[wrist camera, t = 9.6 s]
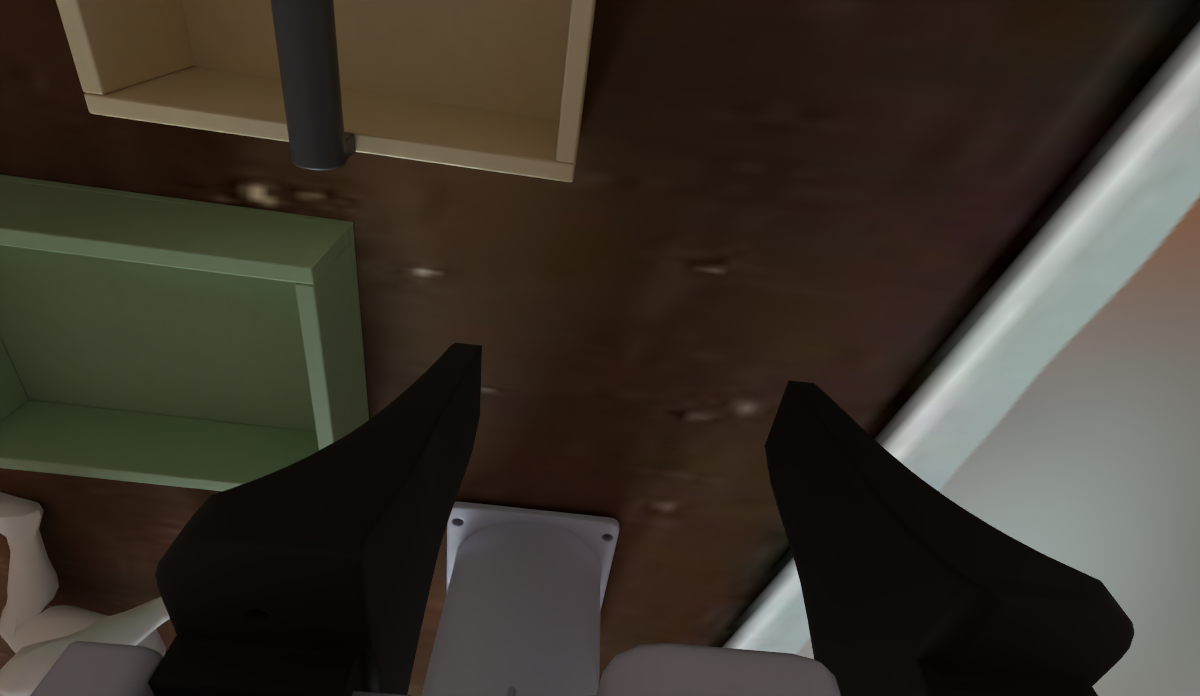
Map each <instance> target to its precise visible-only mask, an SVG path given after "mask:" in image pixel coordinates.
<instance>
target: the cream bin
mask: <svg viewBox="0 0 1200 696" xmlns="http://www.w3.org/2000/svg"><path fill="white" fill-rule="evenodd" d="M56 2H57V6H58V9H59V12H60V16H61V19H62V22H63V26H64V29H65V33H66V36H67V39H68V43H69V46H70V49H71V53H72V56H73V59H74V63H75V66H76V70H77V73H78V76H79V80H80V83H81V86H82V90H83V91H84V92H86V93H85V94H84V96H85V100H86V103H87V107H88V110H89V112H90V113H91V114H97V115H104V116H111V117H118V118H125V119H132V120H139V121H146V122H153V123H160V124H167V125H174V126H181V127H188V128H195V129H202V130H209V131H216V132H223V133H230V134H237V135H244V136H251V137H258V138H265V139H272V140H279V141H286V142H289V145H290V153H291V160H292V162H293V163H294V164H295V165H296V166H298V167H301V168H305V169H310V170H332V169H337V168H340V167H343V166H344V165H345V164H346V161H347V159H348V158H349V157H350V156H351V155H353V154H354V153H355V151H356V152H363V153H370V154H377V155H384V156H391V157H398V158H405V159H412V160H419V161H426V162H433V163H440V164H447V165H454V166H461V167H468V168H474V169H481V170H488V171H495V172H502V173H509V174H516V175H523V176H530V177H537V178H544V179H551V180H558V181H565V182H572V181H573V176H574V170H575V163H576V156H577V150H578V143H579V137H580V128H581V120H582V112H583V104H584V95H585V87H586V79H587V71H588V63H589V54H590V46H591V38H592V30H593V21H594V13H595V5H596V0H56Z"/></svg>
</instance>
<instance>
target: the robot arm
mask: <svg viewBox="0 0 1200 696" xmlns="http://www.w3.org/2000/svg"><path fill="white" fill-rule="evenodd" d="M481 357H482V346H479V345H471V344H462V343H454V344H453V345H451V346H450V347H449V348H448V349H447V350H446V351H445V353H444V354H443V355H442V356H441V357H440V358H439V359H438V360H437V361H436V362H435V363H434V364H433V365H432V366H431V367H430V368H429V369H428V370H427V371H426V372H425V373H424V374H423V375H422V376H421V377H420V378H419V379H418V380H417V381H415V382H414V383H413V384H412V385H411V386H410V387H409V388H408V389H407V390H406V391H405V392H403V393H402V394H401V395H400V396H399V397H397V398H396V399H395V400H394V401H393V402H391V403H390V404H389V405H388V406H386V407H385V408H384V409H383V410H382V411H380V412H379V413H378V414H376V415H375V416H374V417H372V418H371V419H370V420H368V421H367V422H365V423H364V424H363V425H361V426H360V427H358V428H357V429H355V430H354V431H352V432H351V433H349V434H348V435H346V436H344V437H343V438H341V439H339V440H337V441H335V442H334V443H332V444H330V445H328V446H326V447H325V448H323V449H321V450H319V451H317V452H316V453H314V454H312V455H310V456H308V457H306V458H304V459H302V460H300V461H298V462H295V463H293V464H291V465H289V466H287V467H285V468H282V469H280V470H278V471H275V472H273V473H271V474H268V475H266V476H263V477H261V478H258V479H256V480H253V481H250V482H247V483H245V484H242V485H239V486H236V487H233V488H231V489H228V490H225V491H222V492H219V493H216V494H213V495H210V497H209V498H208V499H207V500H206V501H205V502H204V504H203V505H202V506H201V507H200V508H199V509H198V510H197V511H196V513H195V514H194V515H193V516H192V517H191V519H190V520H189V521H188V523H187V524H186V525H185V527H184V528H183V529H182V531H181V532H180V534H179V535H178V536H177V538H176V539H175V541H174V542H173V543H172V545H171V546H170V548H169V549H168V550H167V552H166V553H165V554H164V556H163V557H162V559H161V560H160V561H159V563H158V567H157V570H156V574H155V578H156V583H157V588H158V591H159V593H160V595H161V598H162V600H163V603H164V605H165V607H166V610H167V612H168V615H169V617H170V619H171V622H172V624H173V627H174V629H175V631H176V634H177V636H176V638H175V639H174V641H173V643H172V644H171V646H170V647H169V649H168V651H167V652H166V654H165V655H164V657H163V656H162V655H161V654H160V653H159V652H157V651H155V650H153V649H151V648H147V647H142V646H135V645H123V644H110V643H98V642H86V641H76V642H72V643H70V644H69V645H68V646H67V648H66V649H65V650H64V652H63V653H62V654H61V656H60V657H59V658H58V659H57V661H56V662H55V663H54V665H53V666H52V667H51V669H50V670H49V671H48V673H47V674H46V675H45V676H44V678H43V679H42V680H41V682H40V683H39V684H38V686H37V687H36V688H35V690H34V691H33V692H32V693H31V695H30V696H410V695H407V693H408V688H409V683H410V678H411V673H412V668H413V664H414V659H415V654H416V649H417V645H418V640H419V635H420V631H421V626H422V622H423V617H424V613H425V608H426V604H427V599H428V595H429V590H430V586H431V582H432V577H433V573H434V569H435V565H436V560H437V556H438V552H439V548H440V545H441V541H442V538H443V535H444V531H445V528H446V525H447V595H446V599H445V603H444V607H443V611H442V615H441V619H440V623H439V627H438V631H437V635H436V639H435V643H434V647H433V651H432V655H431V659H430V663H429V667H428V671H427V675H426V680H425V684H424V688H423V692H422V696H1098V695H1097V694H1096V692H1095V690H1094V689H1093V688H1092V686H1093V685H1094V684H1095V683H1096V682H1097V681H1098V680H1099V679H1100V678H1101V677H1102V676H1103V675H1104V674H1106V673H1107V672H1108V671H1109V670H1110V669H1111V668H1112V667H1113V666H1114V665H1115V664H1116V663H1117V662H1118V661H1119V660H1120V659H1121V658H1122V657H1123V655H1124V654H1125V653H1126V652H1127V650H1128V649H1129V648H1130V645H1131V642H1132V639H1133V636H1134V629H1133V624H1132V622H1131V620H1130V619H1129V618H1128V616H1127V615H1126V614H1125V612H1124V611H1123V610H1122V608H1121V607H1120V606H1119V604H1118V603H1117V602H1116V600H1115V599H1114V598H1113V597H1112V595H1111V594H1110V592H1109V591H1108V590H1107V588H1106V587H1105V586H1104V585H1103V583H1102V582H1101V581H1100V580H1098V579H1095V578H1093V577H1091V576H1089V575H1087V574H1085V573H1082V572H1080V571H1078V570H1076V569H1074V568H1072V567H1069V566H1067V565H1065V564H1063V563H1061V562H1059V561H1056V560H1054V559H1052V558H1050V557H1048V556H1046V555H1044V554H1042V553H1040V552H1038V551H1036V550H1034V549H1032V548H1030V547H1028V546H1027V545H1024V544H1023V543H1021V542H1019V541H1017V540H1015V539H1013V538H1012V537H1010V536H1008V535H1006V534H1004V533H1002V532H1001V531H999V530H997V529H996V528H994V527H992V526H990V525H989V524H987V523H986V522H984V521H982V520H981V519H979V518H978V517H976V516H974V515H973V514H971V513H969V512H968V511H966V510H965V509H963V508H962V507H960V506H958V505H957V504H956V503H954V502H952V501H951V500H950V499H948V498H947V497H945V496H944V495H942V494H941V493H940V492H938V491H937V490H936V489H934V488H933V487H931V486H930V485H929V484H927V483H926V482H925V481H923V480H922V479H920V478H919V477H918V476H917V475H915V474H914V473H913V472H911V471H910V470H909V469H908V468H907V467H905V466H904V465H903V464H902V463H901V462H899V461H898V460H897V459H896V458H895V457H893V456H892V455H891V454H890V453H889V452H888V451H886V450H885V449H884V448H883V447H882V446H881V445H880V444H879V443H877V442H876V441H875V440H874V439H873V438H872V437H871V436H870V435H869V434H868V433H867V432H866V431H864V430H863V429H862V428H861V427H860V426H859V425H858V424H857V423H856V422H855V421H854V420H853V419H852V418H851V417H850V416H849V415H848V414H847V413H846V412H845V411H843V410H842V409H841V408H840V407H839V406H838V405H837V404H836V403H835V402H834V401H833V400H832V399H831V398H830V397H829V396H828V395H827V394H826V393H825V392H823V391H822V390H821V389H820V388H819V387H818V386H817V385H815V384H814V383H806V382H798V381H788V384H787V387H786V389H785V392H784V395H783V397H782V400H781V403H780V406H779V408H778V411H777V414H776V417H775V419H774V422H773V425H772V428H771V430H770V433H769V436H768V439H767V441H766V444H765V449H766V456H767V464H768V470H769V476H770V482H771V486H772V489H773V493H774V496H775V499H776V503H777V506H778V509H779V512H780V516H781V519H782V522H783V525H784V528H785V532H786V535H787V538H788V541H789V544H790V548H791V551H792V554H793V557H794V560H795V564H796V567H797V571H798V575H799V579H800V582H801V587H802V593H803V598H804V603H805V608H806V613H807V619H808V624H809V630H810V636H811V642H812V648H813V654H814V659H810V658H806V657H802V656H799V655H795V654H788V653H777V652H765V651H753V650H742V649H730V648H719V647H707V646H696V645H684V644H673V643H661V644H645V645H639V646H636V647H634V648H632V649H629V650H627V651H624V652H622V653H620V654H618V655H617V656H615V657H614V658H613V659H612V661H611V662H610V663H609V665H608V666H607V667H606V669H605V670H604V671H603V673H602V677H601V681H600V685H599V661H600V611H601V607H602V602H603V598H604V594H605V590H606V585H607V581H608V577H609V573H610V568H611V564H612V560H613V555H614V551H615V547H616V543H617V538H618V534H619V522H618V521H617V520H616V519H614V518H610V517H601V516H591V515H582V514H572V513H563V512H554V511H544V510H535V509H526V508H516V507H507V506H497V505H488V504H479V503H469V502H455V500H456V497H457V494H458V491H459V488H460V486H461V483H462V480H463V477H464V474H465V471H466V468H467V465H468V462H469V459H470V457H471V454H472V450H473V445H474V441H475V436H476V431H477V426H478V421H479V417H480V391H481ZM456 518H459V519H456ZM606 534H609V535H606Z"/></svg>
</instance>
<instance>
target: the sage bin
mask: <svg viewBox="0 0 1200 696" xmlns="http://www.w3.org/2000/svg"><path fill="white" fill-rule="evenodd" d="M368 420H369V411H368V399H367V387H366V375H365V363H364V351H363V339H362V327H361V315H360V303H359V291H358V279H357V267H356V255H355V243H354V231H353V222H351V221H344V220H336V219H329V218H321V217H314V216H306V215H299V214H291V213H284V212H277V211H269V210H262V209H254V208H247V207H239V206H232V205H224V204H217V203H210V202H202V201H195V200H187V199H180V198H172V197H165V196H157V195H150V194H142V193H135V192H128V191H120V190H113V189H105V188H98V187H90V186H83V185H75V184H68V183H60V182H53V181H46V180H38V179H31V178H23V177H16V176H8V175H1V174H0V468H6V469H16V470H25V471H35V472H44V473H54V474H63V475H73V476H83V477H92V478H102V479H111V480H121V481H130V482H140V483H149V484H159V485H168V486H178V487H187V488H197V489H206V490H216V491H225V490H228V489H231V488H233V487H236V486H239V485H242V484H245V483H247V482H250V481H253V480H256V479H258V478H261V477H263V476H266V475H268V474H271V473H273V472H275V471H278V470H280V469H282V468H285V467H287V466H289V465H291V464H293V463H295V462H298V461H300V460H302V459H304V458H306V457H308V456H310V455H312V454H314V453H316V452H317V451H319V450H321V449H323V448H325V447H326V446H328V445H330V444H332V443H334V442H335V441H337V440H339V439H341V438H343V437H344V436H346V435H348V434H349V433H351V432H352V431H354V430H355V429H357V428H358V427H360V426H361V425H363V424H364V423H365V422H367V421H368Z"/></svg>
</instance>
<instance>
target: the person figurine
mask: <svg viewBox="0 0 1200 696" xmlns="http://www.w3.org/2000/svg"><path fill="white" fill-rule="evenodd" d="M43 511H44V510H43V508H42V507H41V506H40V504H39V503H38V502H35V501H31V500H27V499H23V498H19V497H15V496H12V495H9V494H6V493H3V492H0V533H1V534H2V535H4V536H6V538H7V541H8V544H9V548H10V551H11V554H10V565H9V576H8V587H7V594H8V599H7V604H6V606H5V608H4V609H3V611H2V614H1V618H0V635H1V636H2V638H3V639H4V640H5V641H6V642H7V643H8V645H9V646H10V647H11V649H12V650H13V651H14V652H15V653H16V654H15V655H14V656H13V657H12V658H11V659H10V660H9V661H8V662H7V663H6V664H5V665H4V666H3V667H2V669H1V670H0V696H30V695H31V693H32V692H33V691H34V690H35V688H36V687H37V686H38V684H39V683H40V682H41V680H42V679H43V678H44V676H45V675H46V674H47V673H48V671H49V670H50V669H51V667H52V666H53V665H54V663H55V662H56V661H57V659H58V658H59V657H60V656H61V654H62V653H63V652H64V650H65V649H66V648H67V646H68V645H69V644H70V643H72V642H76V641H86V642H98V643H110V644H123V645H135V646H142V647H147V648H151V649H153V650H155V651H157V652H159V653H160V654H161V655H162V656H163V657H164V655H165V652H166V647H165V645H164V643H163V641H162V639H161V637H160V635H159V633H158V631H157V629H156V628H157V627H159V626H160V625H161V624H162V623H164V622H165V621H167V620H168V619H170V617H169V615H168V612H167V610H166V607H165V605H164V603H163V600H162V598H161V596H160V597H158V598H156V599H154V600H151V601H149V602H147V603H144V604H142V605H139V606H137V607H135V608H132V609H130V610H127V611H125V612H123V613H119V614H115V615H111V616H108V615H104V614H101V613H97V612H94V611H90V610H87V609H83V608H80V607H77V606H73V605H57V606H53V607H46V606H47V605H48V604H49V603H50V602H51V601H52V600H53V599H54V597H55V595H56V592H57V590H58V588H59V583H58V578H57V573H56V572H55V570H54V568H53V566H52V564H51V562H50V561H49V559H48V556H47V552H46V549H45V546H44V543H43V540H42V537H41V534H40V531H39V527H40V523H41V519H42V515H43Z"/></svg>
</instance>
